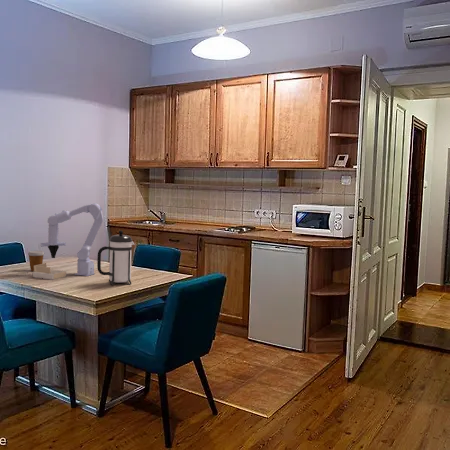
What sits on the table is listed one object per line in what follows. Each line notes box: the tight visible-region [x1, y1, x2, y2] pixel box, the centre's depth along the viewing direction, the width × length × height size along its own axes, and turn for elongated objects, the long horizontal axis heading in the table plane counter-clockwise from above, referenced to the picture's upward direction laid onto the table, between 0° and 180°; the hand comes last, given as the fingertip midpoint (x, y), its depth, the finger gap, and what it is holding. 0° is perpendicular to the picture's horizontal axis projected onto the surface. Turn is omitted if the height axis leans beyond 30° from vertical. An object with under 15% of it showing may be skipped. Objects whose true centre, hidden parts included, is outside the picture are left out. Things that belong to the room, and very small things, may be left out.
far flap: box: [33, 262, 47, 272], centre depth 288 cm, size 4×11×1 cm
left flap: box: [36, 266, 51, 273], centre depth 280 cm, size 10×4×1 cm
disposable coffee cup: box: [27, 250, 45, 272], centre depth 303 cm, size 10×10×12 cm
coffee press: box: [96, 230, 136, 286], centre depth 273 cm, size 17×16×30 cm
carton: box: [32, 269, 67, 281], centre depth 286 cm, size 14×12×3 cm
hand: (53, 257), depth 294 cm, fingers closed
